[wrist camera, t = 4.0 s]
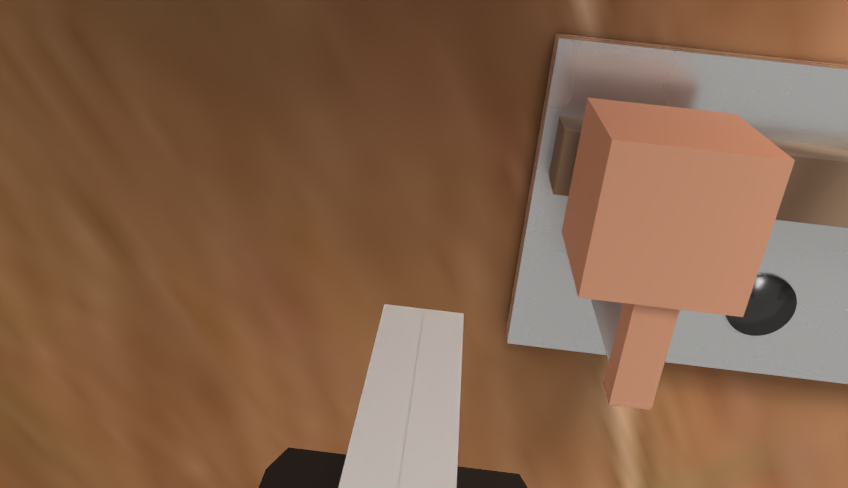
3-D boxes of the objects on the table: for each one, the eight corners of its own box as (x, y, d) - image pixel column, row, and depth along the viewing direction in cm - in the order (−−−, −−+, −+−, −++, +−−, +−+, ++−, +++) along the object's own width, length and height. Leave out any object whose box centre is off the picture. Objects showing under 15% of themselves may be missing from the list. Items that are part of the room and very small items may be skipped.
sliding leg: (539, 300, 30) (555, 403, 23) (580, 85, 26) (612, 139, 20) (660, 315, 30) (708, 422, 23) (719, 100, 26) (795, 160, 20)
